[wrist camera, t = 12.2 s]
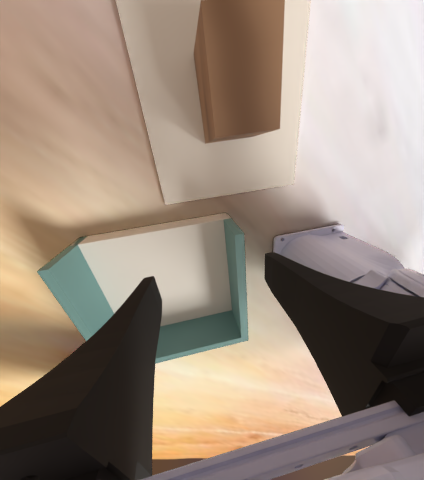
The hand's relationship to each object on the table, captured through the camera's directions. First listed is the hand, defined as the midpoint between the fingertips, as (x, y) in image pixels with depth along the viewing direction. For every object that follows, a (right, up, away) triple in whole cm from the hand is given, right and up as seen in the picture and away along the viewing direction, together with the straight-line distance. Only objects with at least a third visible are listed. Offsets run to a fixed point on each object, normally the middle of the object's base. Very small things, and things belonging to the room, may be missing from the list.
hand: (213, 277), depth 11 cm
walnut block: (+1, +14, +3) cm, 15 cm away
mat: (+1, +14, +4) cm, 15 cm away
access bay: (-5, -2, +11) cm, 12 cm away
